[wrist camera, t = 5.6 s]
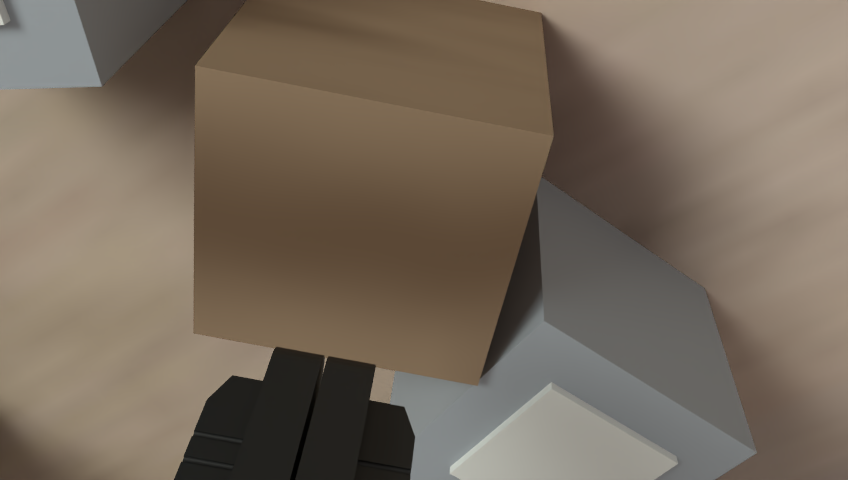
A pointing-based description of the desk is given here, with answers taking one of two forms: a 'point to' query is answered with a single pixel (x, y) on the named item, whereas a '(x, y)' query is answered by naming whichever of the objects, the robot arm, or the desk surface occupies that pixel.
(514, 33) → the walnut block
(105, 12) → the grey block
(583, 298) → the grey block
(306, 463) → the robot arm
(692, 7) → the desk surface
